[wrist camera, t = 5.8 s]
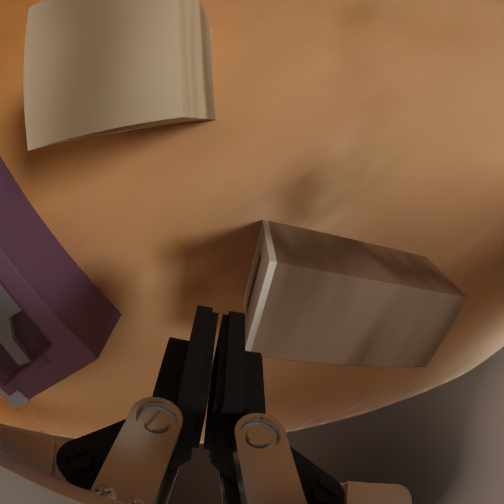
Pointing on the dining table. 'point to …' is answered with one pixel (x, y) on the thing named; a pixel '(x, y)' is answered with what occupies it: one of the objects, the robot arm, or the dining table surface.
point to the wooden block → (344, 301)
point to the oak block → (114, 67)
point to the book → (42, 303)
